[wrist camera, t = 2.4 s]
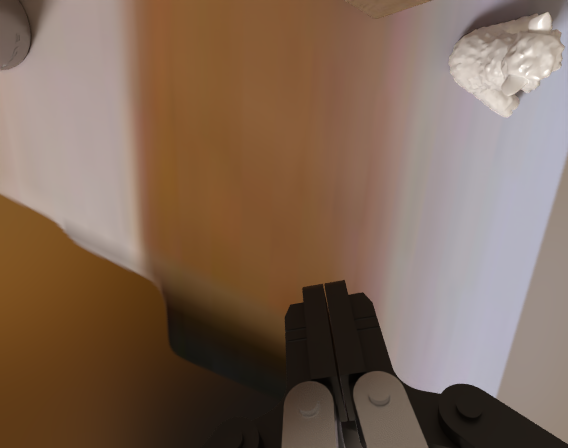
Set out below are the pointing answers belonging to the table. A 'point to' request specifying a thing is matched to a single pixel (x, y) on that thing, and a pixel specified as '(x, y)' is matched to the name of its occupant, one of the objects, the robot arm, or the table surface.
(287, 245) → the table surface
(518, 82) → the sitting furry creature
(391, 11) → the wooden block
